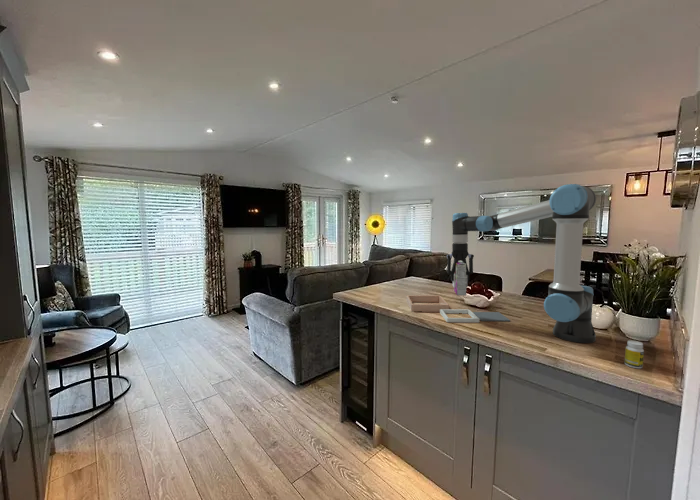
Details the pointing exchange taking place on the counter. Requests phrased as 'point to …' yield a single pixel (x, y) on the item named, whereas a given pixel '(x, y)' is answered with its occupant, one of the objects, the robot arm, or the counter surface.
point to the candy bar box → (460, 278)
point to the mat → (491, 316)
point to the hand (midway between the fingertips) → (459, 286)
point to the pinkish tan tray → (427, 307)
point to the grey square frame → (463, 311)
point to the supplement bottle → (634, 354)
